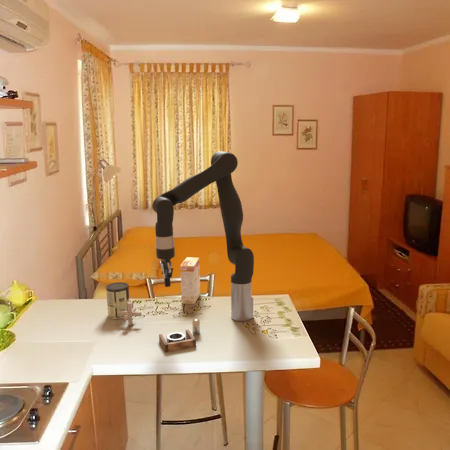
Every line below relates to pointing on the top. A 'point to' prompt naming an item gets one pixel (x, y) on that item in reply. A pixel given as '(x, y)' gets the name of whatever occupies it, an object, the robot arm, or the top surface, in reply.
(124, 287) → the coffee can
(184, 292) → the coffeecake box
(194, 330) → the beige rounded cylinder
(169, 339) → the metal ring
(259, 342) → the top surface
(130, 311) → the pipe connector
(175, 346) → the groove block
